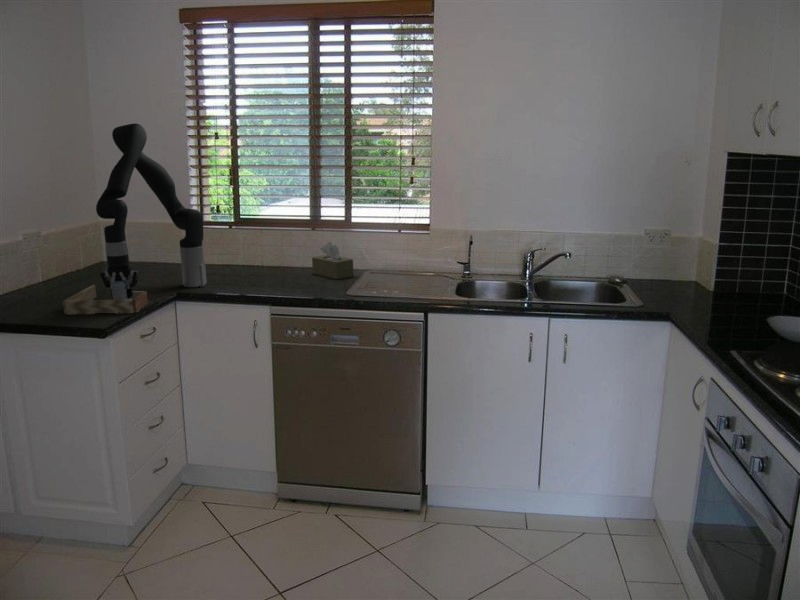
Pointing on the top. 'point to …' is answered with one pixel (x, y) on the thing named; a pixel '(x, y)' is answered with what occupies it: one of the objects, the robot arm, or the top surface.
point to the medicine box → (119, 290)
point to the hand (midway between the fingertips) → (122, 297)
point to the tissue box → (332, 263)
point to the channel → (103, 303)
